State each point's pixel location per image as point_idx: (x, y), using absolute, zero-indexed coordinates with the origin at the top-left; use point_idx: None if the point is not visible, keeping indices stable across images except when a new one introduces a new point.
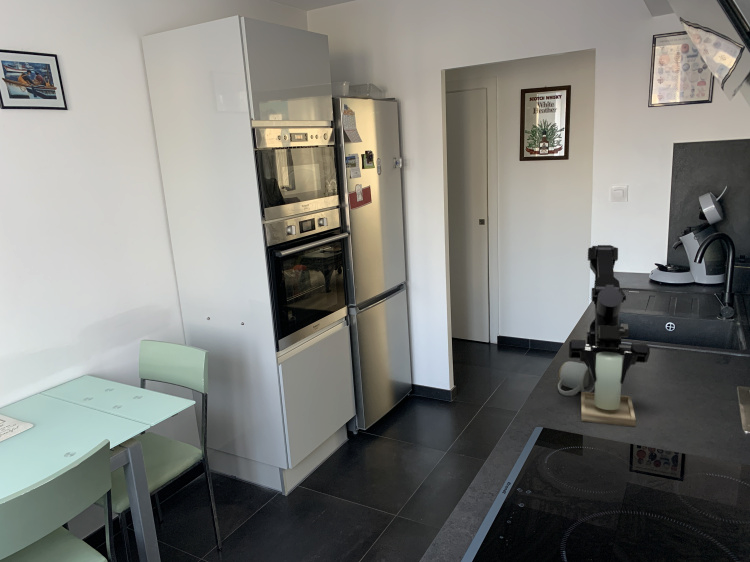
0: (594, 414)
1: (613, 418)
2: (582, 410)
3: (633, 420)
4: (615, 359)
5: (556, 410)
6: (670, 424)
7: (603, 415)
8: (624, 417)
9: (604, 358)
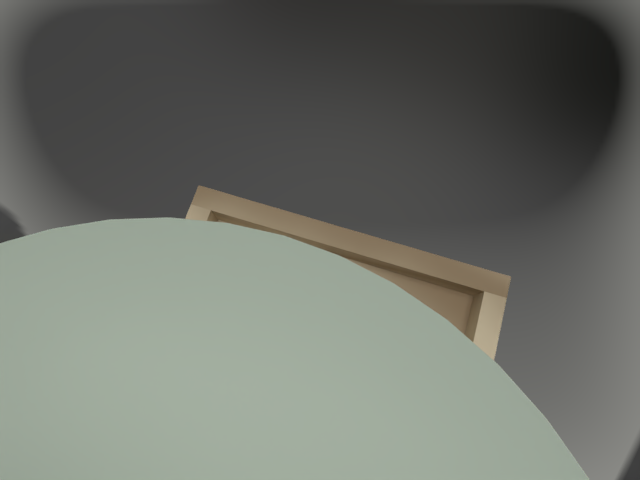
0: (426, 271)
1: (320, 222)
2: (492, 338)
3: (211, 190)
4: (62, 282)
5: (628, 459)
6: (4, 224)
7: (372, 254)
8: (251, 220)
9: (433, 417)
